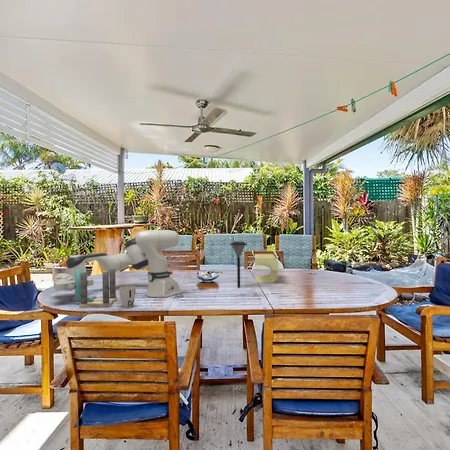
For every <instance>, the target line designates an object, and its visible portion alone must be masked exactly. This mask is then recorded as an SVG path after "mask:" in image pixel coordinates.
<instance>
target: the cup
mask: <svg viewBox="0 0 450 450" xmlns="http://www.w3.org/2000/svg"><path fill="white" fill-rule="evenodd" d="M119 298H120V303H121V305H122V307H123V308H125V309H126V308H133V307H134V303H135V298H136V286H134V285H124V286H120V287H119Z"/></svg>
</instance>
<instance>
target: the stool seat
mask: <svg viewBox="0 0 450 450" xmlns="http://www.w3.org/2000/svg"><path fill="white" fill-rule="evenodd" d="M87 275H88V272H82V273H80V280H81V300H80V303H79V304H78V305H79V308H80V309H93V308H95V309H100V308H103V309H105V308H110V307H112V305H114V304H115V303H116V302H118V297H117V295H116V293H117V292H116V291H117V289H116V287H117V286H116V285H117V284H116V283H117V282H116V272H115V269H109V272H106V271H103V272H102V277H101V278H102V297H101V296H99V297H97V296H93V297H94V300H93V301H88V300H87V298H88V286H87Z"/></svg>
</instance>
